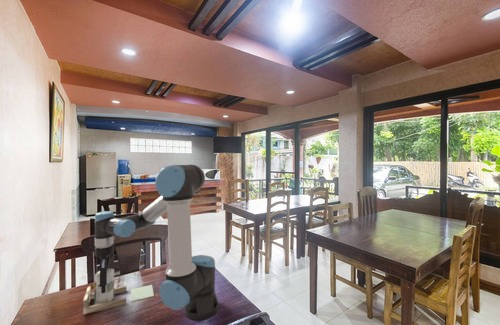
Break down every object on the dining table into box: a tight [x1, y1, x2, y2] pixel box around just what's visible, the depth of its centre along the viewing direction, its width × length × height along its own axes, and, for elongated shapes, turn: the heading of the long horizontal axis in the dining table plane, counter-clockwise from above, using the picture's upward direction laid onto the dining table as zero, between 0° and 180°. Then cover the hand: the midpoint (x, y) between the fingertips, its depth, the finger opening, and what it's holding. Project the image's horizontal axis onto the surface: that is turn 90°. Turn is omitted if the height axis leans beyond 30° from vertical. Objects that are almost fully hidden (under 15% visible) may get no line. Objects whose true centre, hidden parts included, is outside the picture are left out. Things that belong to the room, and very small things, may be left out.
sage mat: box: [130, 284, 155, 303], centre depth 116 cm, size 11×10×1 cm
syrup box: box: [93, 267, 115, 305], centre depth 108 cm, size 6×6×14 cm
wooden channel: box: [82, 285, 127, 315], centre depth 109 cm, size 12×16×6 cm
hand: (104, 294), depth 108 cm, fingers closed on syrup box, 7 cm apart
